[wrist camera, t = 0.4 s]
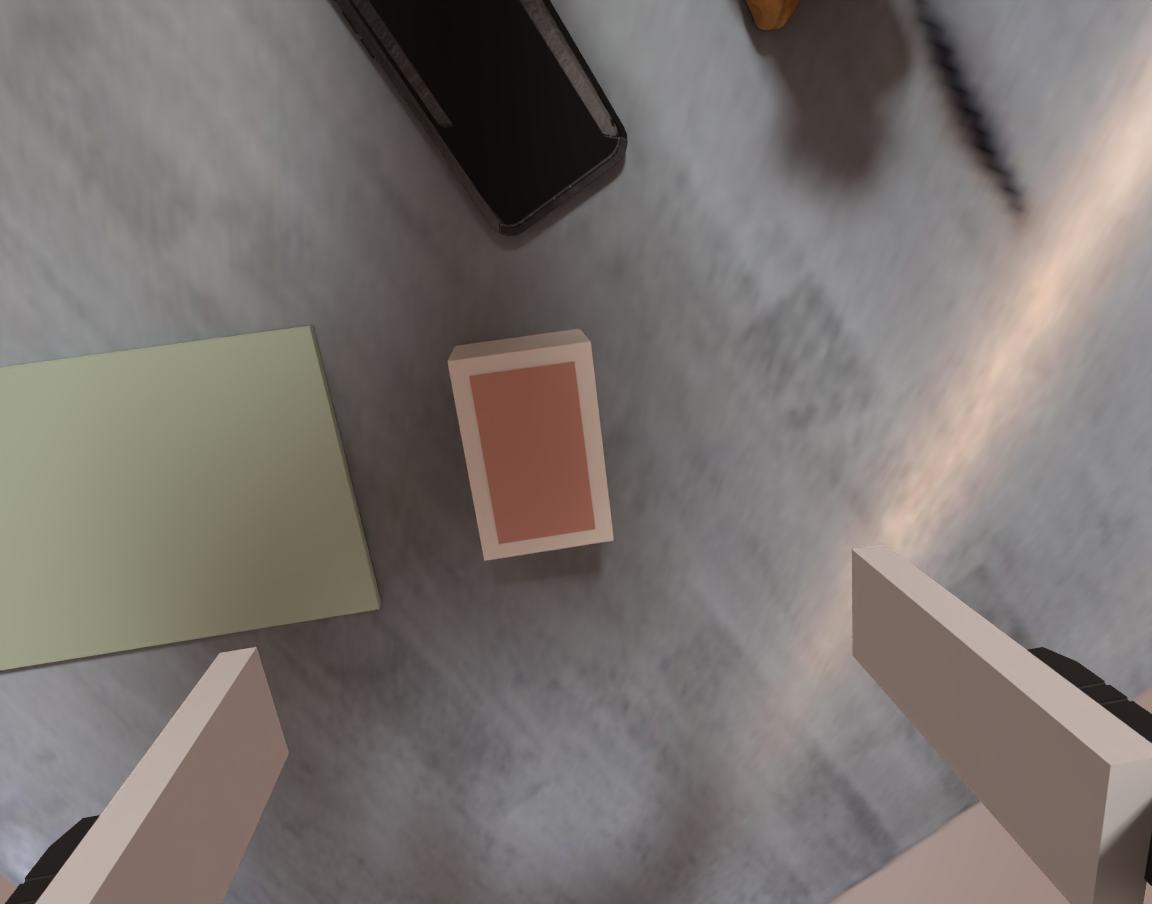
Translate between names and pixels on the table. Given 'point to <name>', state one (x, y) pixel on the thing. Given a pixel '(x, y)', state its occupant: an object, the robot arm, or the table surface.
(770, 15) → the stuffed squirrel
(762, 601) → the table surface
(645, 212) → the table surface
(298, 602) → the mat
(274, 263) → the table surface
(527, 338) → the card box
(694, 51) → the table surface
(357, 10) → the phone
